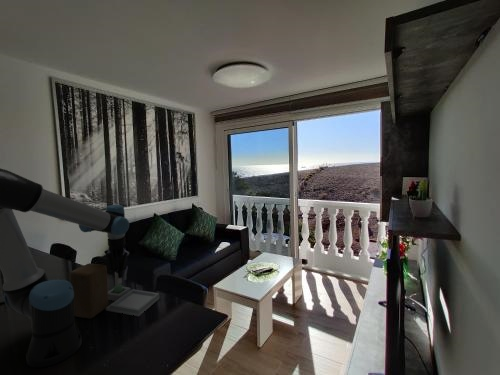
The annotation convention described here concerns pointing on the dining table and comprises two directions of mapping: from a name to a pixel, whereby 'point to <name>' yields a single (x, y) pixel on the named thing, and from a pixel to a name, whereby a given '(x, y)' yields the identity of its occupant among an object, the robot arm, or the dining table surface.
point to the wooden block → (89, 290)
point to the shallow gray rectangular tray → (134, 302)
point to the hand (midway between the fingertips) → (118, 283)
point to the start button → (118, 289)
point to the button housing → (116, 296)
